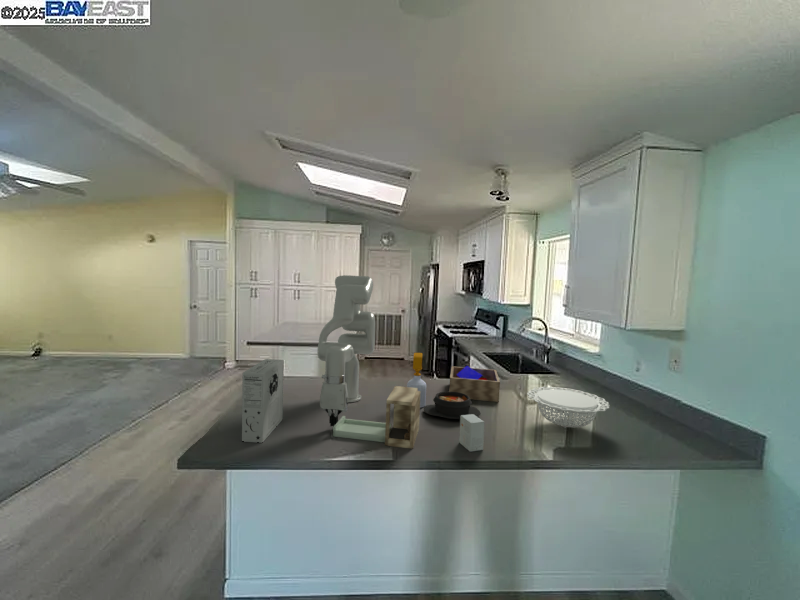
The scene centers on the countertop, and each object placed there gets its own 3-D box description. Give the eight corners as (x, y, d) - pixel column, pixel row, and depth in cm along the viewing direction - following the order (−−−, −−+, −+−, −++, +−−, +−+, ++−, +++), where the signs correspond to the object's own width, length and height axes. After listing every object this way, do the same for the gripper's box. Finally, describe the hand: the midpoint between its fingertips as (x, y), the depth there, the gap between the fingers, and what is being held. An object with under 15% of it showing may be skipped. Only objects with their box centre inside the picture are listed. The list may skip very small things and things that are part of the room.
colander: (574, 412, 183) (576, 385, 182) (626, 441, 152) (629, 409, 151) (511, 415, 176) (512, 387, 175) (552, 446, 145) (555, 413, 144)
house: (475, 385, 218) (477, 365, 217) (492, 397, 199) (493, 375, 198) (455, 386, 216) (456, 365, 215) (470, 398, 196) (471, 375, 195)
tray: (332, 436, 146) (333, 427, 146) (342, 424, 158) (343, 415, 158) (385, 442, 143) (385, 433, 143) (391, 429, 155) (391, 420, 155)
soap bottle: (425, 402, 188) (428, 352, 186) (425, 409, 179) (427, 356, 177) (407, 401, 189) (409, 350, 187) (405, 407, 180) (407, 354, 178)
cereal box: (264, 418, 160) (265, 358, 158) (282, 419, 160) (283, 359, 158) (241, 442, 139) (242, 372, 137) (262, 443, 139) (263, 373, 137)
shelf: (384, 445, 141) (386, 399, 139) (393, 426, 158) (395, 385, 156) (413, 448, 139) (415, 402, 138) (418, 429, 156) (420, 388, 155)
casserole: (475, 408, 183) (476, 390, 182) (484, 424, 165) (485, 404, 164) (421, 406, 182) (422, 389, 182) (425, 422, 164) (426, 402, 163)
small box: (483, 450, 140) (485, 421, 139) (469, 452, 138) (471, 423, 137) (472, 440, 147) (473, 413, 147) (458, 442, 145) (460, 414, 145)
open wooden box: (449, 397, 197) (450, 377, 196) (450, 383, 221) (451, 366, 220) (498, 401, 193) (499, 382, 193) (495, 387, 217) (496, 369, 217)
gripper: (312, 379, 149) (311, 426, 150) (350, 383, 146) (349, 431, 147) (320, 374, 156) (319, 419, 157) (356, 378, 153) (354, 423, 155)
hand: (333, 425), depth 152 cm, fingers closed
